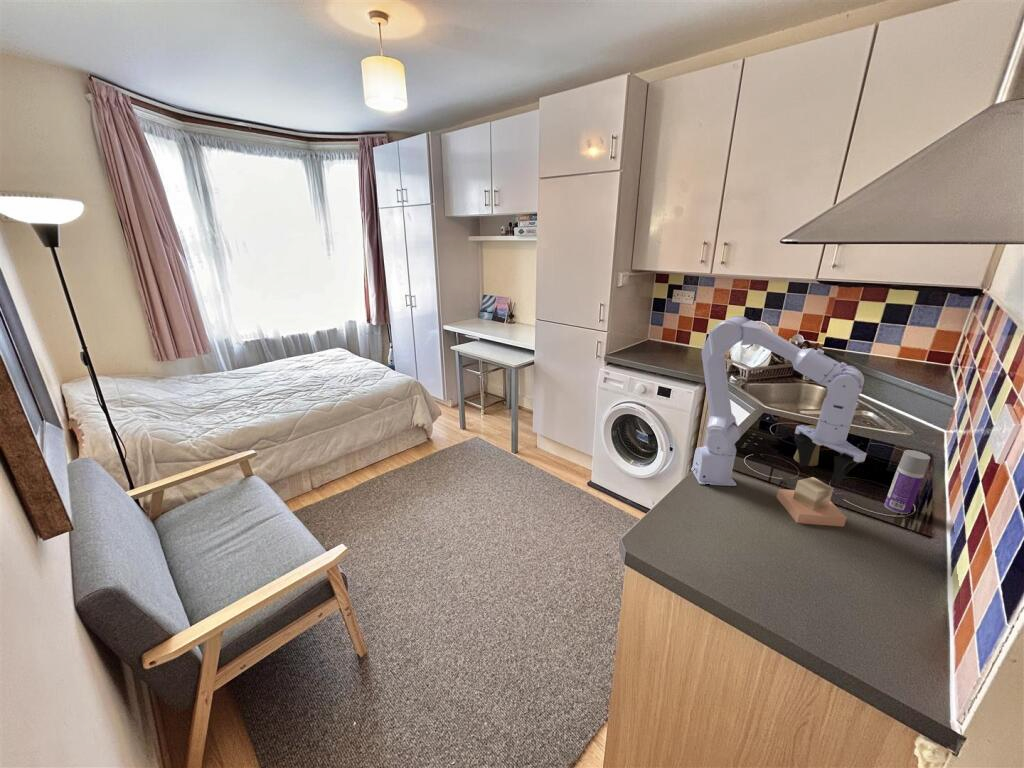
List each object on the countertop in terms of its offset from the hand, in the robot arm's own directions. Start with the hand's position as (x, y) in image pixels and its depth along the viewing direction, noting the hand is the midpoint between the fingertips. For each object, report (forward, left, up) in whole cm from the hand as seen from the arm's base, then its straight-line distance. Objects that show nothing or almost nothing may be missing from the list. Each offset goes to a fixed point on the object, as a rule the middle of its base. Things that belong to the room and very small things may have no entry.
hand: (819, 473), depth 95 cm
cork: (+13, +25, -11) cm, 30 cm away
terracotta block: (0, 0, -11) cm, 11 cm away
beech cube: (0, 0, -8) cm, 8 cm away
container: (+22, +3, -11) cm, 25 cm away
